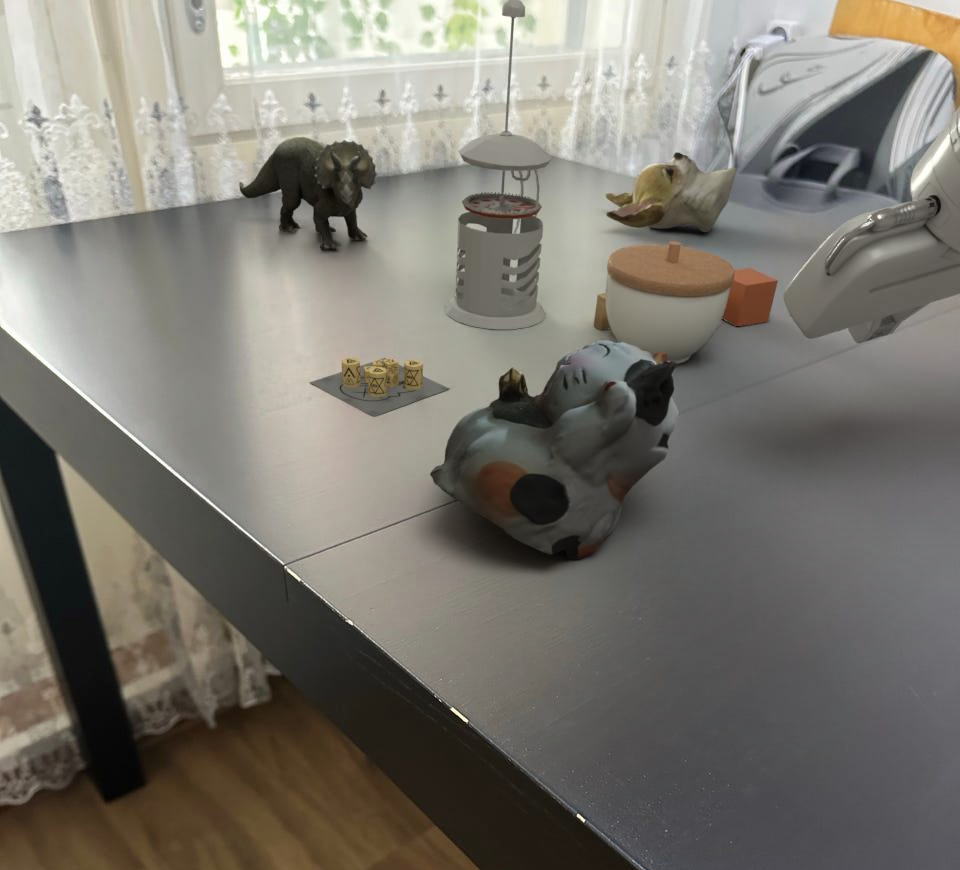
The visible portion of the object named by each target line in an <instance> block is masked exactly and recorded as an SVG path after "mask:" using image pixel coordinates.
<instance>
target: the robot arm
mask: <svg viewBox="0 0 960 870" xmlns="http://www.w3.org/2000/svg"><path fill="white" fill-rule="evenodd" d="M909 184H910V185H909V186H910V196H911V200H909V201H906V202H901V203H898V204H894V205H889V206H886V207H883V208H879V209H876V210H872V211H868V212H864V213H861V214H858V215H857V216H854V217H852V218H850V219H848V220H847V221H846V222H845V221H844V223H842V224H841V225H840V226H839V227H838V228H837V229H835V230H834V231H833V232H832V233H831V234H830V235H829V236H828V237H827V238H826V239H825V240H824V241H823V242H822V243H821V244H820V246H819V247H818V248H817V249H816V250H815V251H814V252H813V253H812V255H811V256H810V257H809V259H808V260H807V261H806V262H805V263H804V265H803V266H802V267H801V268H800V269H799V271H798V272H797V273H796V274H795V276H794V277H793V278H792V279H791V281H790V282H789V284H788V285H787V287H786V288H785V290H784V293H783V302H784V305H785V308H786V309H787V311H788V314H789V316H790V317H791V319H792V320H793V322H794V323H795V325H796V327H797V328H798V329H799V330H800V332H801V334H802V335H804V337H805V338H806V339H811V340H813V339H818V338H821V337H824V336H827V335H830V334H834V333H837V332H840V331H843V330H846V329H848V333H849V334H850V335H851V337H852V339H853V341H854V342H855V343H856V344H863V343H865V342H866V343H867V342H869V341H872V340H875V339H878V338H881V337H884V336H888V335H891V334H893V333H894V332H895V330H897V329H898V328H899V326H900V325H901V324H902V323H903V322H904V321H906V320H907V319H909V318H911V317H912V316H913V315H915V314H916V313H918V312H919V311H921V310H922V309H924V308H925V307H927V306H928V305H930V304H931V303H935V302H937V301H940V300H943V299H947V298H951V297H953V296H958V295H960V106H959V107H958V108H957V110H956V111H955V112H954V113H953V115H952V116H951V117H950V119H949V120H948V121H947V123H946V124H945V125H944V127H943V129H941V131H940V132H939V133H938V135H937V136H936V138H935V139H934V140H933V142H932V143H931V144H930V145H929V147H928V148H927V150H926V151H925V152H924V154H923V155H922V157H921V158H920V159H919V160H918V162H917V163H916V165H915V166H914V168H913V170H912V174H911V176H910V183H909Z"/></svg>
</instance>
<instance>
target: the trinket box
mask: <svg viewBox="0 0 960 870" xmlns="http://www.w3.org/2000/svg"><path fill="white" fill-rule="evenodd" d="M606 265H607V266H606V271H607V275H606V276H607V277H606V284H605V293H606V313H607V319H608V322H609V326H610V328H611V329H610V331H611V333H612V334H613V336H614V337H615V339H616V341H617V343H621V342H624V343H627V344H629V345H633V346H636V347H638V348H639V349H641V350H642V351H647V352H649V353H650V354H651V355H652V356H653V355H654V354H656V353H660V352H665V353H666V354H667V361H673V362H676V363H677V365H679V364H682V363H685V362H687V361H689V360H690V359H691V357H692V355H693V354H695V353H697V352H698V351H699V350H701V349H702V348H703V347H704V346H705V345H706V344H707V343H708V342H709V341H710V340H711V339H712V338H713V336H714V335H715V333H716V331H717V329H718V327H719V326H720V323H721V321H722V317H723V314H724V311H725V308H726V305H727V301H728V297H729V292H730V287H731V286H732V284H733V280H734V276H735V270H736V269H735V268H734V267H733V265H732V263H731V262H729V261H727V260H726V259H724V258H722V257H720V256H718V255H715V254H712V253H711V252H707V251H704V250H701V249H696V248H692V247H686V246H682V243H681V242H679V241H675V240H673V241H669V242H668V244H653V243H651V244H637V245H636V244H635V245H631V246H626V247H621V248H618V249H616V250H615V251H613V252H612V253H610V255H609V256H608V259H607V264H606Z"/></svg>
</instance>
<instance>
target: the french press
mask: <svg viewBox="0 0 960 870" xmlns="http://www.w3.org/2000/svg"><path fill="white" fill-rule="evenodd" d="M501 16H502V17H508V18H509V17H510V18H511V20H510V21H511V23H510V41H509V55H508V56H509V57H508V71H507V72H508V74H507V88H506V89H507V91H506V108H505V123H504V125H505V126H504V127H505V128H504V131H501V132H495V133H490V134H487V135H482V136H480V137H477V138H474V139H471V140H470V141H469V142H467V143H466V144H465V145H464V146H463V147H461V148H460V149H459V150H458V153H459V155H460V157H461V159H462V161H463V162H464V163H467V164H469V165H470V166H474V167H479V168H483V169H488V170H496V171H502V175H501V190H500V191H501V192H497V191H496V192H493V191H491V192H486V191H485V192H480V193H474V194H469V195H467V196H466V197H464V199H463V200H462V201H461V203H462V205H463V207H464V209H465V211H468V212H464V213H461V215H459V216H458V218H457V236H456V237H457V241H456V244H457V250H456V260H457V261H456V270H455V273H456V276H455V290H454V291H455V295H454V296H453V297H452V298H451V299H450V300H449V301H448V302H447V304H446V305H445V306H444V310H445V313H446V315H447V316H448V317H450V318H451V319H453V321H456V322H458V323H462V324H464V325H467V326H470V327H474V328H479V329H480V328H481V329H488V330H518V329H523V328H524V329H525V328H529V327H533V326H536V325H537V324H539V323H541V322H543V321H544V319H545V318H546V316H547V313H546V311H545V309H544V306H542V305H541V303H540V302H539V301H538V290H539V286H538V283H539V281H540V271H539V269H540V267H541V258H540V255H541V253H542V246H543V245H542V243H541V241H542V239H543V235H544V233H543V232H544V223H543V221H542V220H541V219H540V218H538V214H539V212H540V211H541V209H542V208H543V206H542V205H541V204H540V181H539V174H538V170H539V169H543V168H546V167H547V166H548V165H549V164H550V162H551V161H552V159H553V158H552V156H551V155H550V154H549V153H548V152H547V151H546V150H545V149H544V148H543V147H542V146H541V145H539V144H538V143H537V142H536V141H534V140H531V139H530V138H528V137H526V136H524V135H519V134H513V133H512V132H511V131H510V130H508V129H509V128H508V126H509V112H510V111H509V110H510V94H511V79H512V64H513V63H512V62H513V61H512V60H513V46H514V31H515V30H514V27H515V26H514V25H515V19H516V18H525V17H526V6H525V5H524V3H523V1H522V0H507V1H505V2H504V3H503V5H502V8H501ZM506 171H507V172H509V171H510V174H511V177H512V178H513V179H514V180H515V181H519V182H520V193H519V194H518V193H515V194H514V193H513V192H512V193H511V192H509V193H507V192H505V179H506V178H505V176H506ZM524 171H527V172H526V173H527V175H526V177H524V176H523V172H524ZM532 171H534V174H535V183H536V199H534V198H531V197H529V196H526V195H524V193H525V189H524V182H526V181H528V180H529V179H530V178H531V172H532ZM515 172H518V174H519V176H516V175H515ZM514 220H516V222H515V223H516V224H515V227H514ZM468 224H473V225H479V226H482V227H485V228H486V231H485V230H480V229H476V228H471V227H470V226H467V225H468ZM519 226H520V227H519ZM518 228H519V233H517V231H518ZM513 229H514V230H513ZM511 261H517V264H516V265H517V266H515V267H512V266H511ZM463 269H464V271H463ZM510 276H516V279H515V281H510Z"/></svg>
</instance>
